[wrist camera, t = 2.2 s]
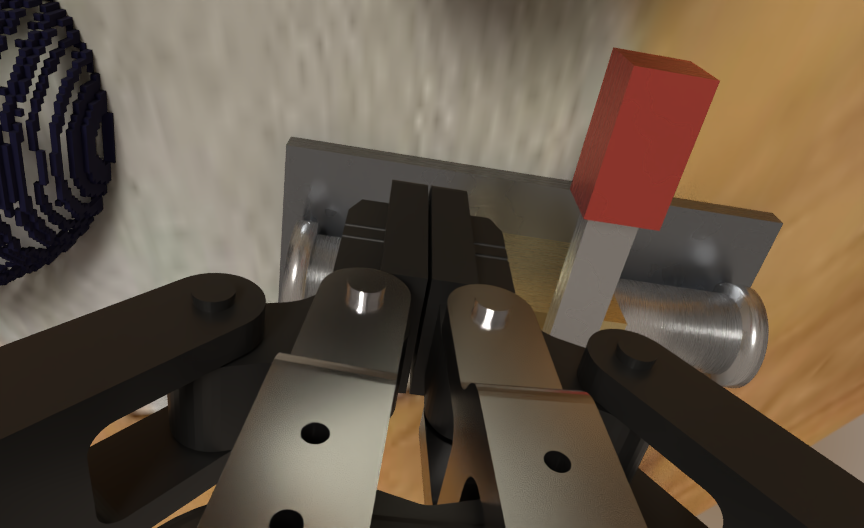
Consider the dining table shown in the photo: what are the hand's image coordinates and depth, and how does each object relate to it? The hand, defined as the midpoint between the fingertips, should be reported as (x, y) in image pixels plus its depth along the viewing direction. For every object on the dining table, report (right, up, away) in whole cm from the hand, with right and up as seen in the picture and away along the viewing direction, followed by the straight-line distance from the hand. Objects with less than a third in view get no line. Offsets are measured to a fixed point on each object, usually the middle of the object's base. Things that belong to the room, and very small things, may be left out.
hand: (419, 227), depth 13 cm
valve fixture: (+5, -1, +23) cm, 24 cm away
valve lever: (+6, -1, +12) cm, 13 cm away
